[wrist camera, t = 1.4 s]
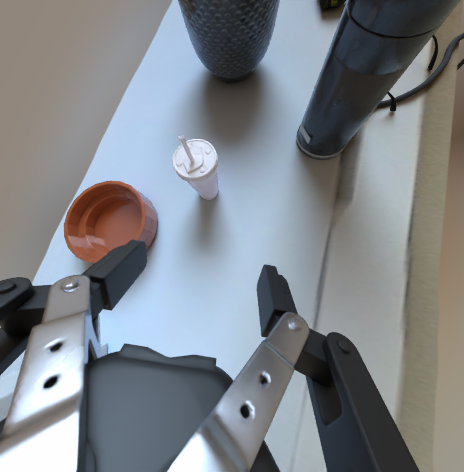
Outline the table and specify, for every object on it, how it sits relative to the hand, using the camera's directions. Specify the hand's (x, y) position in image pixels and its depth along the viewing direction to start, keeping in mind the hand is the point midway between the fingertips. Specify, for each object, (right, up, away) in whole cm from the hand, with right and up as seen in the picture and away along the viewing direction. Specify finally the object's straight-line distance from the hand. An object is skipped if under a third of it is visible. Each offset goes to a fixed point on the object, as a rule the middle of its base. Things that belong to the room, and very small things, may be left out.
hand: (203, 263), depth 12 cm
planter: (+2, +40, +28) cm, 49 cm away
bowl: (-19, +4, +21) cm, 29 cm away
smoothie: (-3, +11, +22) cm, 24 cm away
